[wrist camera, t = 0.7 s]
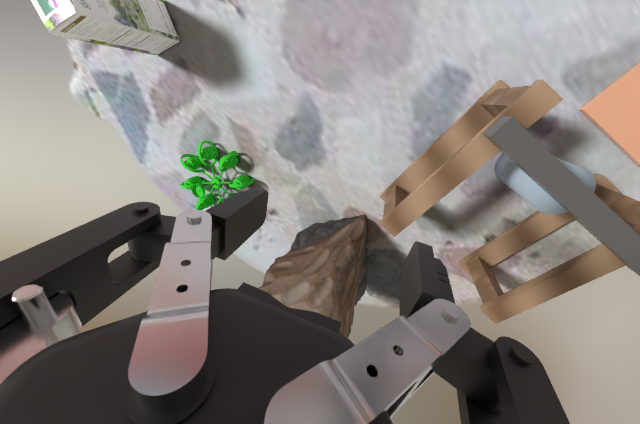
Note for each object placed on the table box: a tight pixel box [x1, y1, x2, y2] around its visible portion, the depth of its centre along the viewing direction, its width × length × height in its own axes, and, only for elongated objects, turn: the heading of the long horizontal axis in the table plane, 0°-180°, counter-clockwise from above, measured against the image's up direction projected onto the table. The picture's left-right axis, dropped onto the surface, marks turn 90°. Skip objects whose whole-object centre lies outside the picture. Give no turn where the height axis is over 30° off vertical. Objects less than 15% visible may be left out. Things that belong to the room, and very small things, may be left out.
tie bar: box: [483, 116, 640, 276], centre depth 22 cm, size 2×19×2 cm, turn 53°
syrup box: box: [31, 0, 180, 55], centre depth 32 cm, size 6×6×14 cm
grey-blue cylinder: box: [495, 154, 596, 215], centre depth 28 cm, size 5×5×10 cm
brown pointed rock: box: [258, 215, 368, 338], centre depth 36 cm, size 13×13×20 cm
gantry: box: [380, 80, 640, 324], centre depth 30 cm, size 20×20×11 cm
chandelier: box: [180, 141, 254, 210], centre depth 44 cm, size 15×15×7 cm
